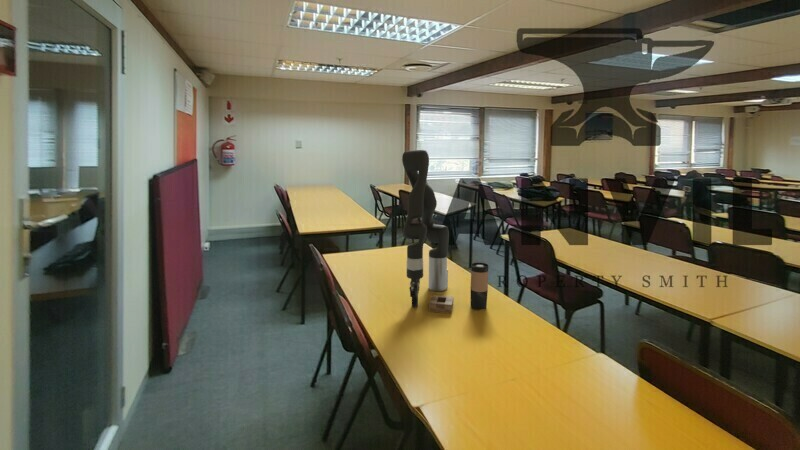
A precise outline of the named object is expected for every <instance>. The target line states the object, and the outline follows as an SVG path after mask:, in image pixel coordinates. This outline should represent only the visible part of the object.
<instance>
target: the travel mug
mask: <svg viewBox="0 0 800 450" xmlns="http://www.w3.org/2000/svg"><path fill="white" fill-rule="evenodd" d="M470 266H471V267H470V308H471V309H472V310H476V311H481V310H482V311H484V310H486V309H487V305H488V292H489V291H488V290H489V287H488V286H489V264H487V263H485V262H473V263H471V265H470Z"/></svg>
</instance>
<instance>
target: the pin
mask: <svg viewBox="0 0 800 450" xmlns="http://www.w3.org/2000/svg"><path fill="white" fill-rule="evenodd" d="M416 290H417V289H416ZM418 292H419V291H418ZM418 292H417V304H416V305H412V304H411V307H412V308H418V306H419V293H418Z"/></svg>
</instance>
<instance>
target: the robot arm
mask: <svg viewBox="0 0 800 450" xmlns="http://www.w3.org/2000/svg"><path fill="white" fill-rule="evenodd" d="M401 156H402V159H401V161H402V162H401V163H402V165H403V168H404V171H405V174H406V176H407V179H408V181H409V184H410V185H411V188H412V189H411V191H410V192H409V195H408V197H407V198H408V199H407V215H406V220H405V223H404V226H403V229H402V235H403V237H404V238H405V239H407V240H418V241H417V242H414V243H410V244H408V245H407V247H406V252H407V253H406V278H408V279H410V281H409V288H408V289H409V293H410V294H409V295H410V298H411V306H412V305H416V304H417V292H418V294H419V291H420V282H421V279H422V278H424V258H423V256H424V252H423V251H424V245H425V240H427V241H428V242H430V243H435V244H437V247H435V248H432V249H429V250H428V290H430V291H433V292H443V291H445V290H447V289H448V288H449V287H448V286H449V283H448V282H449V270H448V252H449V242H450V241H449V240H450V230H449V227H448V226H446V225H442V224H436V223H435V222H434V219H433V216H434V213H435V211H436V208H437V205H438V204H437V202H438V201H437V197H436V194H435V191H434V189H433V188H432V187H431V185H429V184H428V182H427V179H428V173H429V165H430V158H429V157H430V156H429V153H428V151H427V150H425V149H413V150H406V151H404V152H403V153H402V155H401ZM420 218H421V221H422V222H421V223H417V222H416V223H413V220H415V219H420ZM416 289H417V290H416Z"/></svg>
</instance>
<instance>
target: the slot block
mask: <svg viewBox="0 0 800 450" xmlns="http://www.w3.org/2000/svg"><path fill="white" fill-rule="evenodd" d="M454 297H455V296H450V295H438V294H431V296H430V299H429V302H428V312H430V313H443V314H452V312H453V309H454V302H455V300H454V299H455V298H454Z"/></svg>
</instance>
